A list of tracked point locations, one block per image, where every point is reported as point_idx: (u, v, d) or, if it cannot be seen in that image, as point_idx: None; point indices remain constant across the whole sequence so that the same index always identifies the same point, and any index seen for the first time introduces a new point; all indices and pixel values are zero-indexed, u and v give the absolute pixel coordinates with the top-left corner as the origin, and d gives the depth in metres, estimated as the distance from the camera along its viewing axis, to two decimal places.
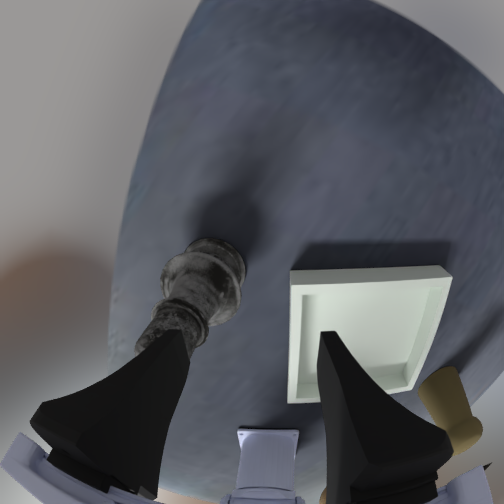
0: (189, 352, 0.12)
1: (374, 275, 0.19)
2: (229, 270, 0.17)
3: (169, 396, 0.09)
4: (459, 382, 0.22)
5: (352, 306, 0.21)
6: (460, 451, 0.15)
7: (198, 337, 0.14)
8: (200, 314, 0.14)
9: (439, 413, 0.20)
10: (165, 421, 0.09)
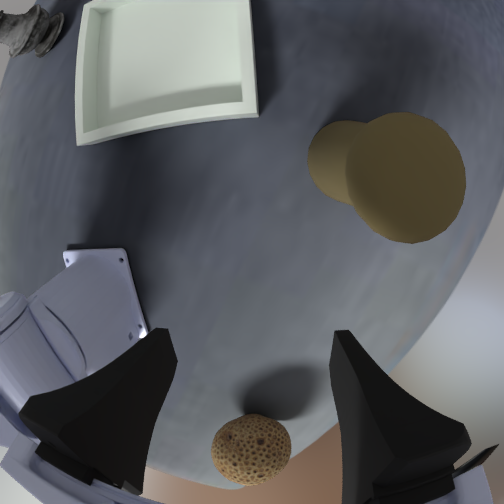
0: None
1: None
2: (35, 5, 0.09)
3: (155, 394, 0.09)
4: None
5: (145, 17, 0.14)
6: (411, 191, 0.08)
7: None
8: (1, 10, 0.06)
9: (332, 154, 0.13)
10: (151, 418, 0.09)
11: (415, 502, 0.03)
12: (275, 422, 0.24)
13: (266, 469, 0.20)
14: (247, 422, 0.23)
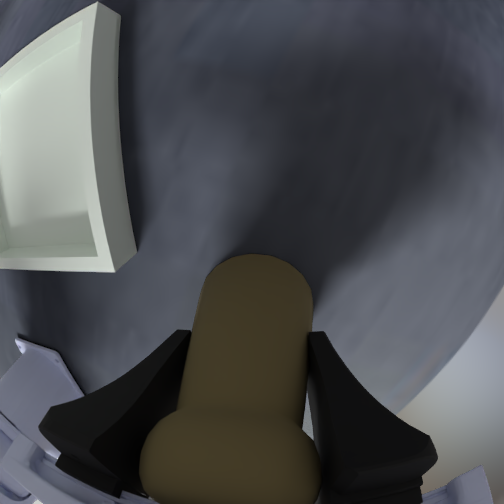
0: None
1: None
2: None
3: None
4: (279, 292, 0.11)
5: (20, 110, 0.10)
6: None
7: None
8: None
9: None
10: None
11: None
12: None
13: None
14: None
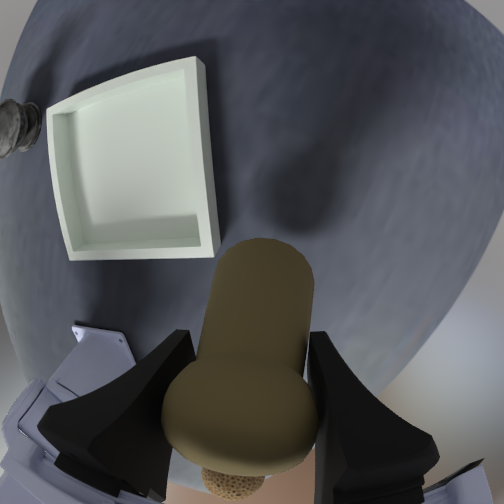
0: None
1: None
2: None
3: None
4: (281, 268, 0.13)
5: (107, 128, 0.17)
6: (209, 464, 0.06)
7: None
8: None
9: (201, 333, 0.12)
10: None
11: None
12: None
13: (243, 490, 0.24)
14: None
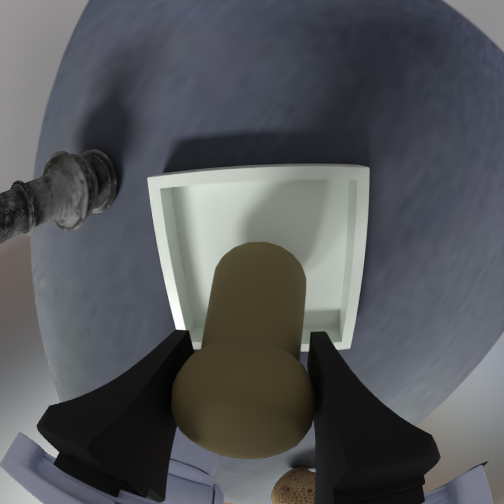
0: None
1: (251, 166, 0.16)
2: (44, 166, 0.15)
3: None
4: (271, 266, 0.14)
5: (238, 215, 0.18)
6: (217, 446, 0.07)
7: (10, 189, 0.11)
8: (11, 188, 0.11)
9: (204, 331, 0.13)
10: (173, 423, 0.09)
11: None
12: None
13: None
14: (300, 479, 0.28)
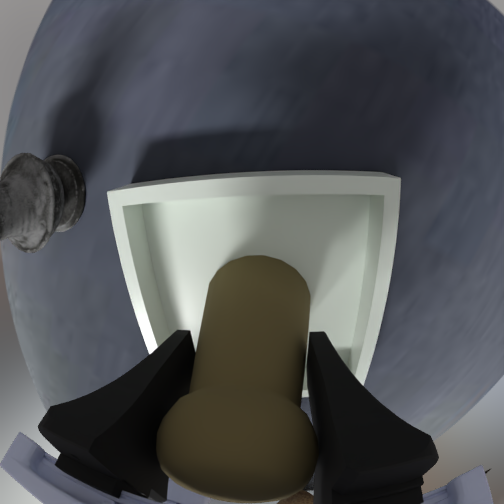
0: None
1: (240, 174, 0.12)
2: (0, 177, 0.10)
3: (178, 397, 0.09)
4: (271, 287, 0.12)
5: (225, 238, 0.14)
6: (209, 496, 0.06)
7: None
8: None
9: None
10: None
11: None
12: None
13: None
14: None
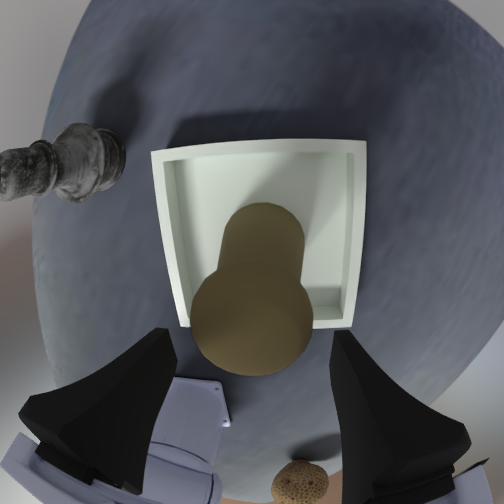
0: None
1: None
2: None
3: (155, 394, 0.09)
4: (274, 218, 0.16)
5: (239, 189, 0.18)
6: (229, 354, 0.10)
7: None
8: None
9: None
10: (151, 418, 0.09)
11: (415, 502, 0.03)
12: (319, 468, 0.29)
13: (313, 499, 0.25)
14: (301, 470, 0.28)
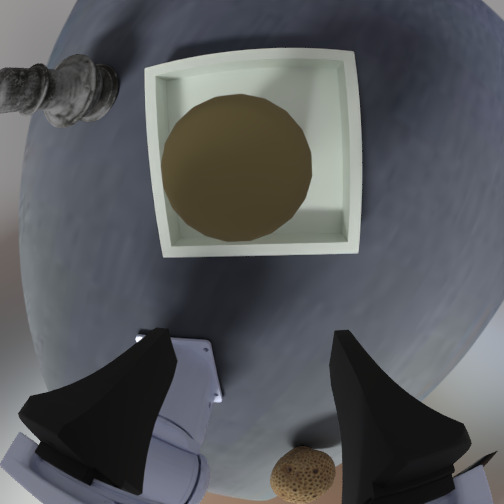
0: None
1: None
2: None
3: (155, 394, 0.09)
4: None
5: None
6: (204, 186, 0.08)
7: None
8: None
9: None
10: (151, 418, 0.09)
11: (415, 502, 0.03)
12: (324, 454, 0.27)
13: (319, 490, 0.22)
14: (304, 457, 0.26)
